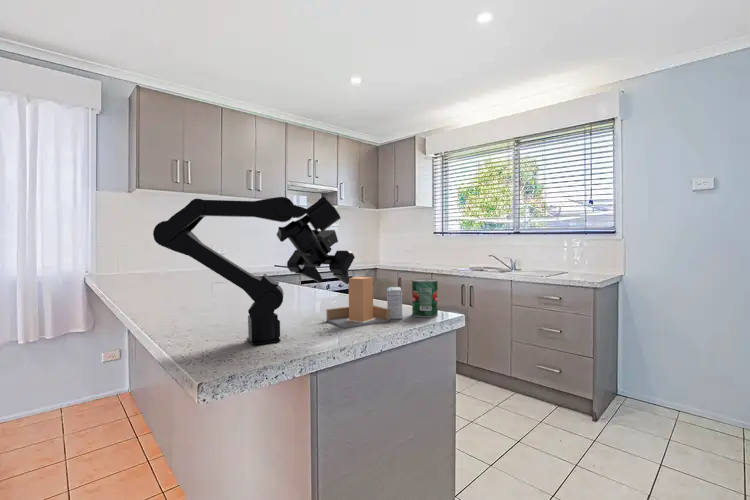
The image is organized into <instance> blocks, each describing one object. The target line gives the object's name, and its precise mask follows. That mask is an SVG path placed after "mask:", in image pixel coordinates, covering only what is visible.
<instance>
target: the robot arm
mask: <svg viewBox="0 0 750 500" xmlns="http://www.w3.org/2000/svg"><path fill="white" fill-rule="evenodd" d="M205 217H229V218H230V217H232V218H237V217H239V218H258V219H262V220H267V221H272V222H279V223H287V222H289V223H288V224H286V225H285V226H278V227H277V228H278V231H277V233H276V236H277V238H278V240H279V241H280V242H284V241H286V240H287V239H288V240H289V241H290V242H291V244H292V245H293V247H294V248H295V250H294V251H293V253H292V254H291V256H290V258H289V259H288V260H287V262H286V267H287V269H288V270H289V271H290V272H292V273H295V274H298V275H300V276H303V277H306V278H309V279H310V280H313V281H316V282H318V283H322V282H323V277H322V276H321V274H320V272H319V271H318V269H317V268H320V267H321V266H322V265H329V267H328V268H329V270H330V272H331V273H333V274H332V276H334V277H335V278H337V279H339V281H341V282H342V283H344V284H345V285H349V278H350V276H349V269H350V267H351V265H352V263H353V262H354V259H355V258H356V257H355V255H354V254H353V252H352V250H336V252H335V253H334V255H333V254H329V253H331V252H332V246H333V245H335V244H338V243H339V239H338V236H337V233H336V230H335V229H328V228H330V227H331V226H333V224H335V223H337V222H338V221H339V220H340V219H341V218H342V217H341V216H340V213H339V212H338V210H337V209H336V208H335V206H334V205H333V204H331V203H330V201H329V200H328V199H327V198H326V197H325V196H321V197H320V198H319V199H318V200H317V201H316V202H315V203H313V204H312V205H310V206H308V207H307V208H306V207H304V206H299V205H296V204H294V203H293V201H292V200H291V199H290V198H288V197H285V196H277V197H270V198H265V199H257V200H225V199H222V200H221V199H203V198H193V199H191V200H190V201H189V203H188V204H186V206H184V207H183V208H182V209H180V210H179V211H177V212H176V213H174V214H173V215H172V216H171V217H169V218H168V220H163V221H160V222H159V223H157V224H156V225H155V227H154V228H153V231H152V235H153V241H155V243H157V244H158V245H159V246H161V247H163V248H166V249H169V250H171V251H174V252H176V253H179V254H183V255H185V256H188V257H190V258H192V259H193V260H195V261H196V262H198V263H200V264H202V265H203V266H205V267H207V268H208V269H209V270H211V271H213V272H214V273H216V274H217V275H219V276H221V277H222V278H224V279H226V280H227V281H229V282H230V283H232V284H234V285H235V286H236V287H238V288H240V289H241V290H243V291H244V292H245V293H246V294H247V296H249V297H250V299H251V300H252V301H253V302H252V303H251V305H250V307H249V309H248V310H247V312H248V314H247V315H248V316H247V321H248V322H247V325H248V326H247V327H248V331H247V332H248V335H247V336H248V337H246V341H247V342H249V343H250V345H252V346H259V345H266V344H271V343H278V342H281V338H280V337H281V320H280V319H278V317H279V316H278V313H275V311H276V310H277V309H279V308H280V307H281V306H282V304H283V302H284V295H285V293H284V289H283V288H282V287H281V285H279V283H280V281H278V280H277V281H276V280H274V279H272V278H271V277H270V276H269V275H268V274H266V273H264V274H263V275H262V276H261V277H259V276H256V275H254V274H253V273H250V272H249V271H247V270H245V269H244V268H243V267H241V266H239V265H237V264H236V263H235V262H233V261H231V260H230V259H228V258H226V257H225V256H224V255H222V254H220V253H218V252H217V251H216V250H215V249H212V248H211V247H209V246H207V244H205V243H203V242H202V241H201V240H200V239H199V238H198V237H197V236H196V235H195V233H193V232H192V231H193V230H194V229H195V227H197V226H198V224H199V223H200V222H201V221H202V220H203V219H204V218H205ZM292 219H297V220H295V221H294V220H292ZM291 220H292V221H291ZM290 221H291V222H290ZM309 224H310V225H311V226H312V228H313V229H312V228H311V227H310V225H309Z"/></svg>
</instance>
